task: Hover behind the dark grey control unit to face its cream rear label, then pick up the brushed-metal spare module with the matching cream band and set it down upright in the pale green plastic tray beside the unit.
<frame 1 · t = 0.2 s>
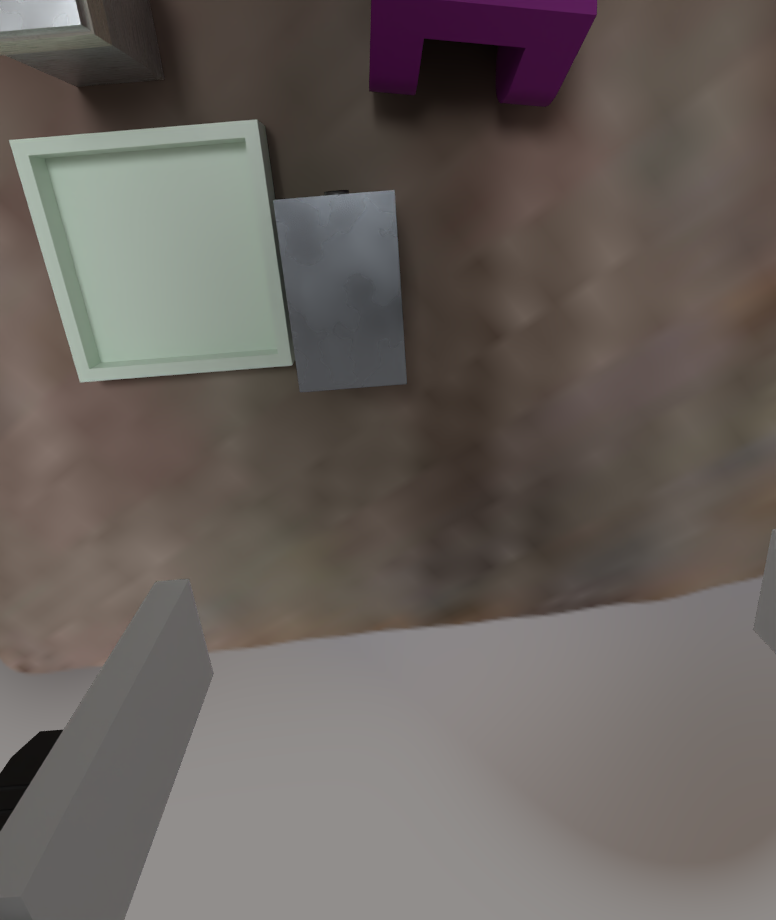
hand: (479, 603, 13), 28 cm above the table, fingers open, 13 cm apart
control unit: (352, 277, 37), on the table
spare module: (109, 29, 31), on the table
tray: (175, 258, 36), on the table
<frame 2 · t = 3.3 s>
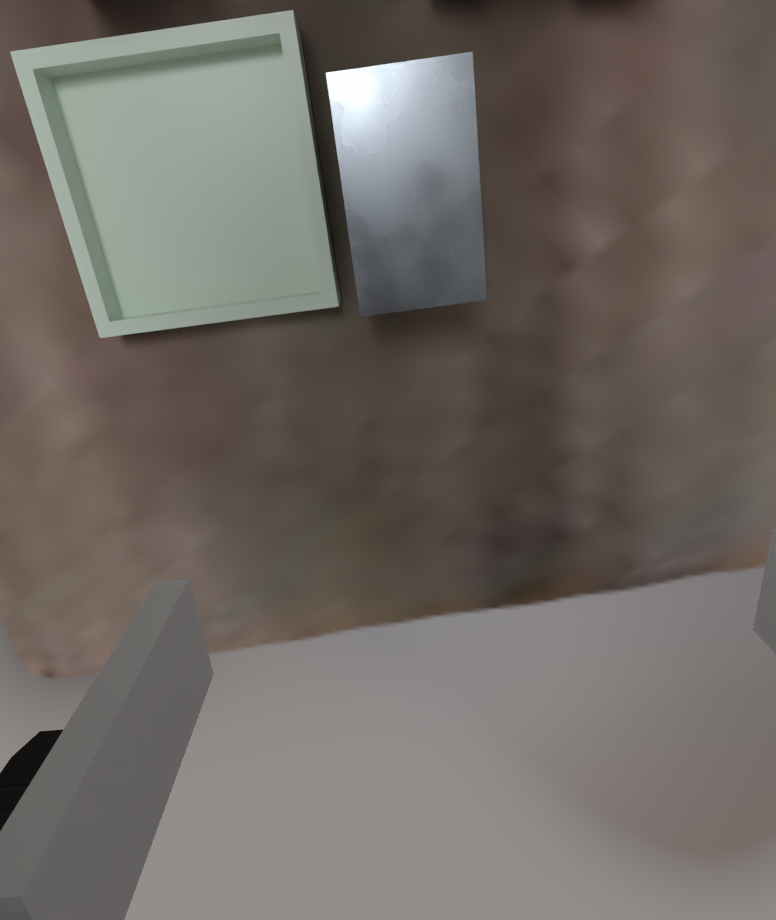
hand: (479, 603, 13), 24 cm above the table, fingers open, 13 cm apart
control unit: (401, 204, 32), on the table
tray: (201, 192, 32), on the table
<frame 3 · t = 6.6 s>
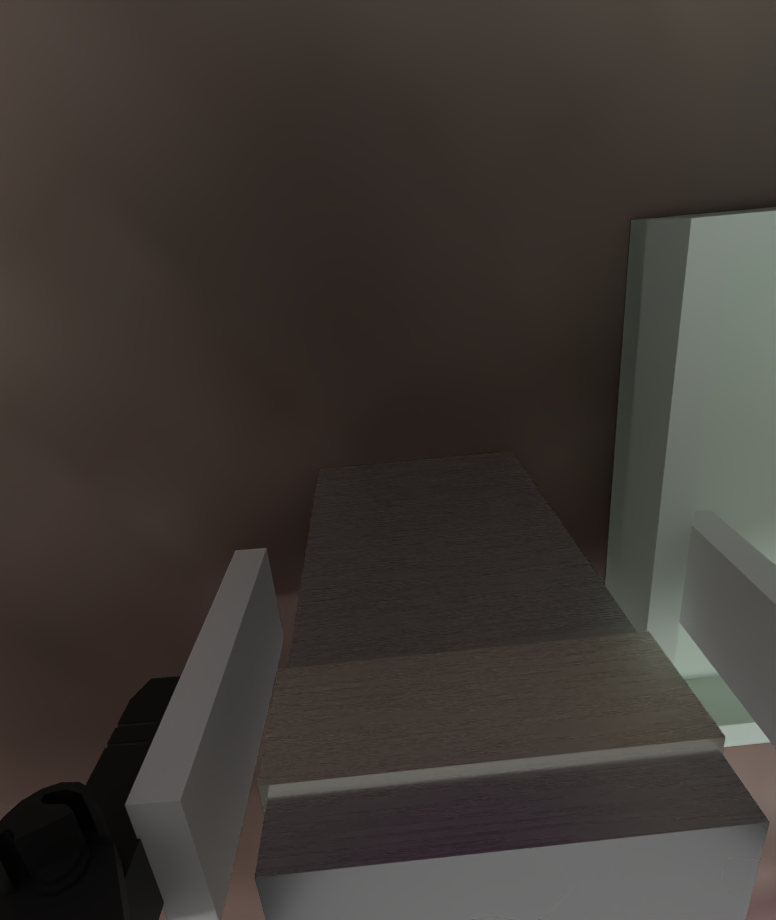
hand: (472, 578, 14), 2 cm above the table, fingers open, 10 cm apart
spare module: (421, 543, 16), on the table
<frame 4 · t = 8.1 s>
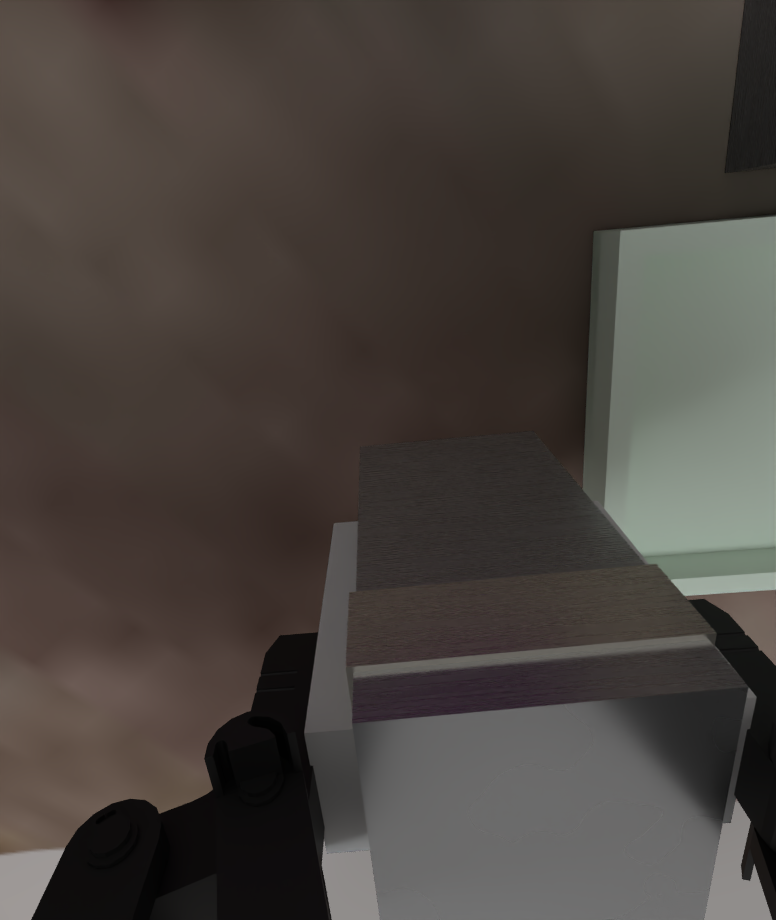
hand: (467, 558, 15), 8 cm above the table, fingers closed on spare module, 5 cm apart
spare module: (450, 515, 17), point 6 cm above the table, touching gripper
tray: (763, 403, 22), on the table
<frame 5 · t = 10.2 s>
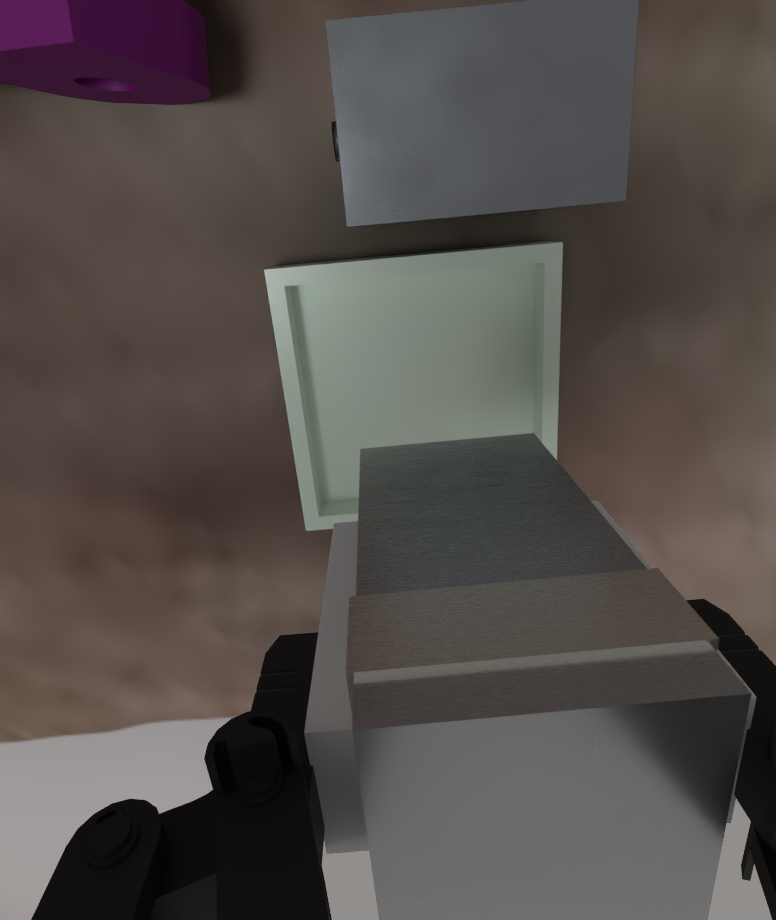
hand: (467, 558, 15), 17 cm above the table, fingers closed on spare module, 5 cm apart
control unit: (446, 154, 27), on the table
spare module: (450, 518, 17), point 15 cm above the table, touching gripper
tray: (418, 387, 31), on the table
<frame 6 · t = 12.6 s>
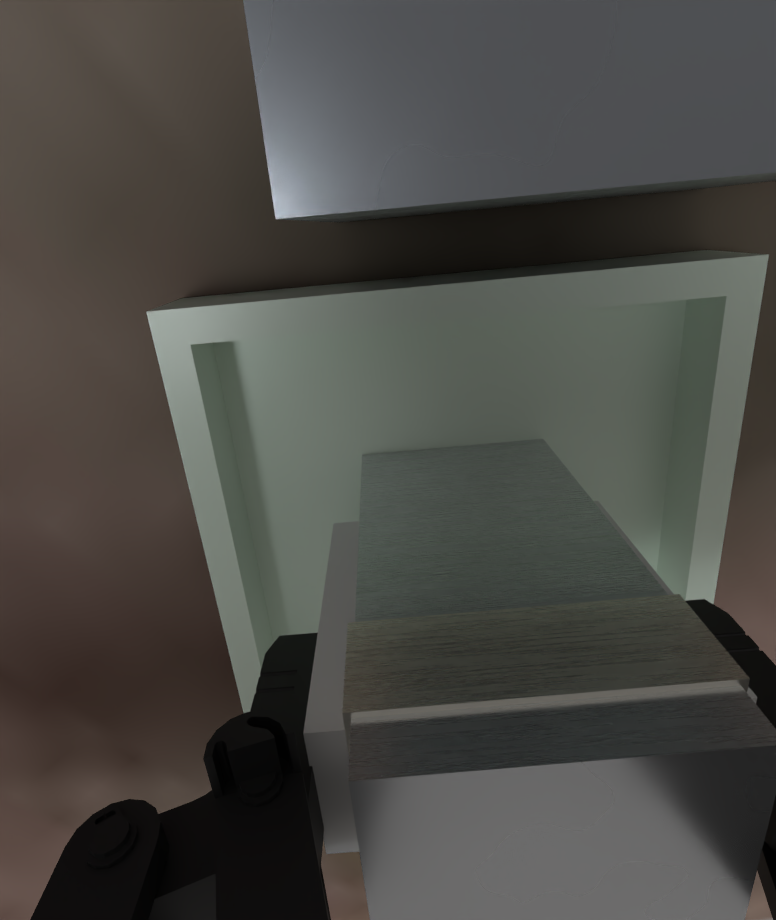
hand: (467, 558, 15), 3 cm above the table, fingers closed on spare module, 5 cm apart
control unit: (520, 75, 13), on the table
spare module: (456, 526, 17), point 1 cm above the table, touching gripper, tray
tray: (453, 508, 17), on the table
when the fingers open (2 cm above the table, at t = 13.1 s): spare module stays where it is, resting on tray.
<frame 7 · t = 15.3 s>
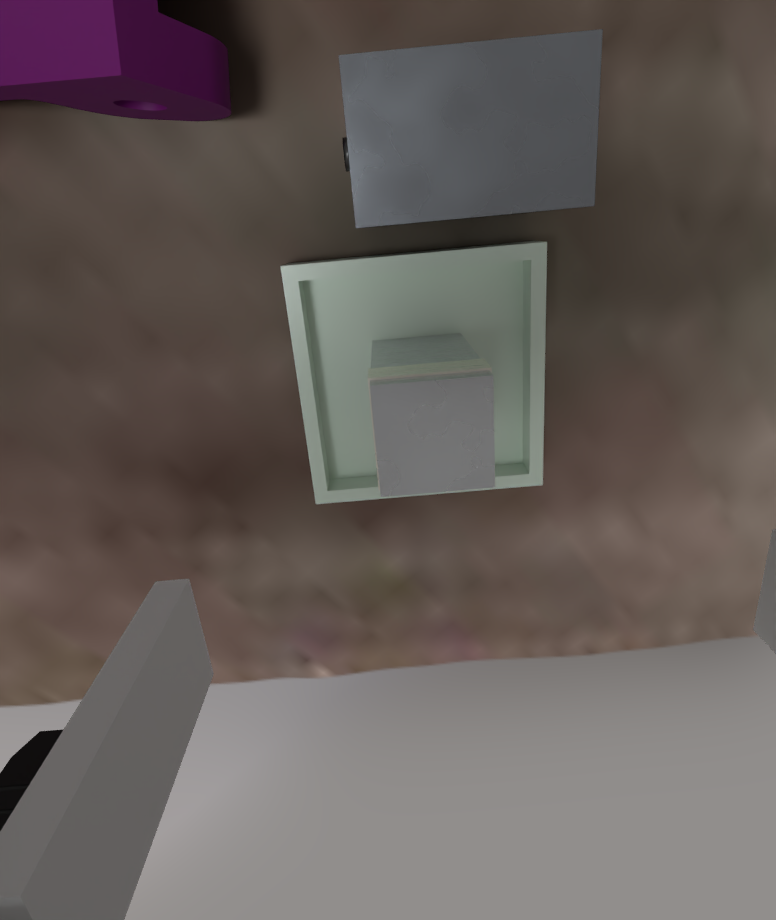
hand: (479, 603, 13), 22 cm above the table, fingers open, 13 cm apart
control unit: (443, 163, 30), on the table
spare module: (419, 379, 33), point 1 cm above the table, touching tray
mounting bracket: (48, 4, 27), on the table
tray: (418, 373, 34), on the table
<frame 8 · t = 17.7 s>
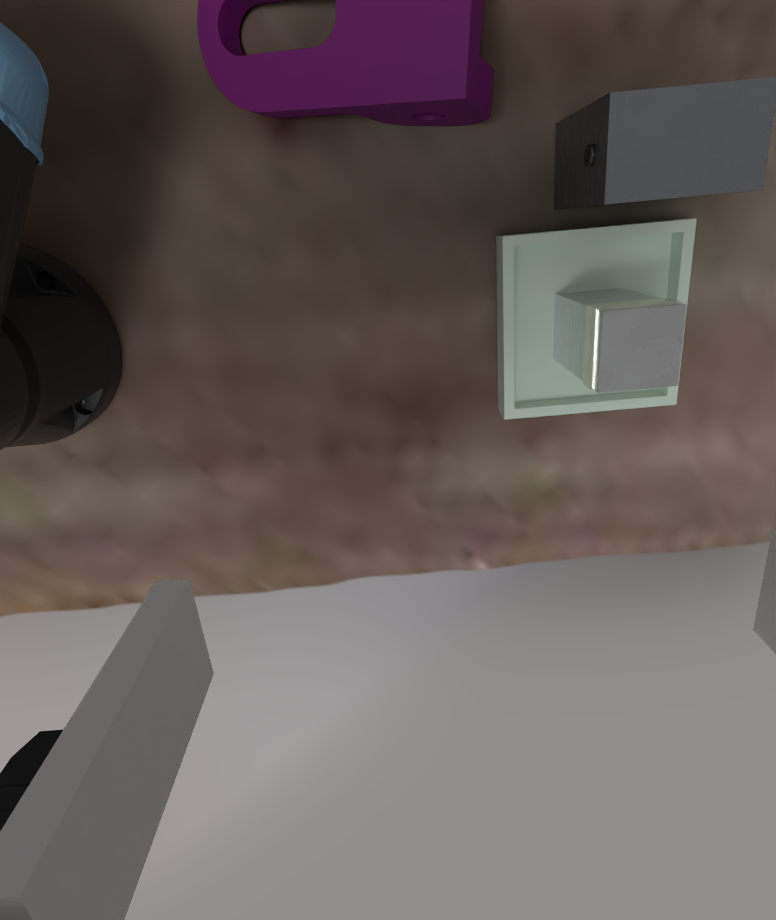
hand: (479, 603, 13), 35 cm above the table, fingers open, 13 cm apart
control unit: (618, 161, 41), on the table
spare module: (586, 324, 44), point 1 cm above the table, touching tray
mounting bracket: (346, 44, 38), on the table
tray: (583, 320, 45), on the table
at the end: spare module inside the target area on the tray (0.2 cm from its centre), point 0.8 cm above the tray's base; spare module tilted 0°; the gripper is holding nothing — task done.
